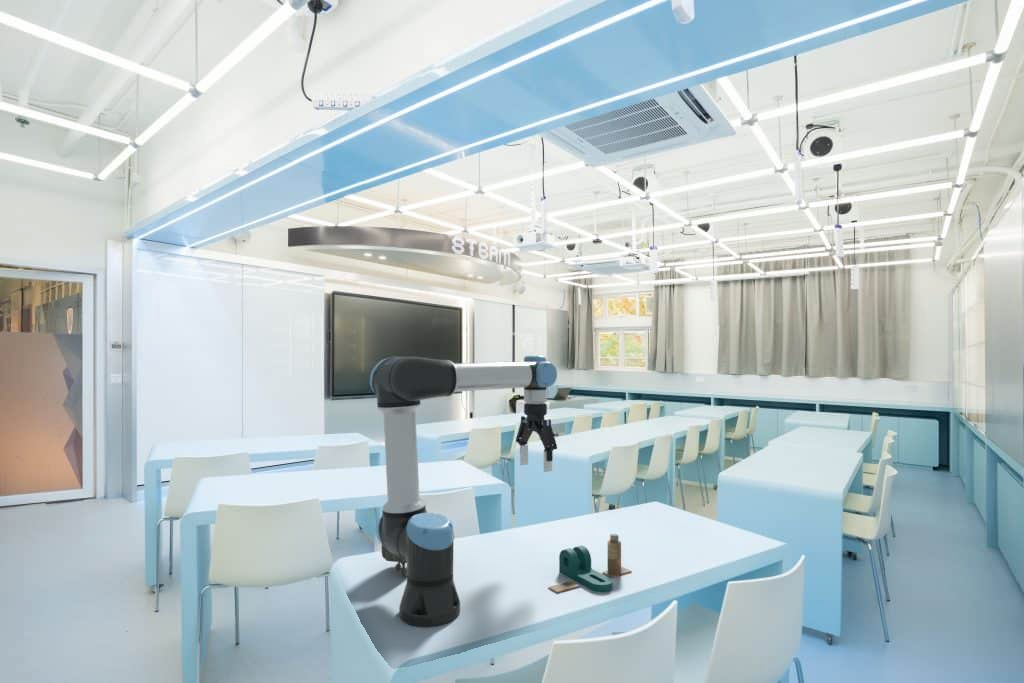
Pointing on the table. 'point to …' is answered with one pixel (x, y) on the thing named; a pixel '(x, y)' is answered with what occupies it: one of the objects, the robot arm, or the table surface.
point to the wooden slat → (572, 585)
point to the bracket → (583, 570)
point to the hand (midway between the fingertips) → (535, 468)
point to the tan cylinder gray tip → (614, 555)
